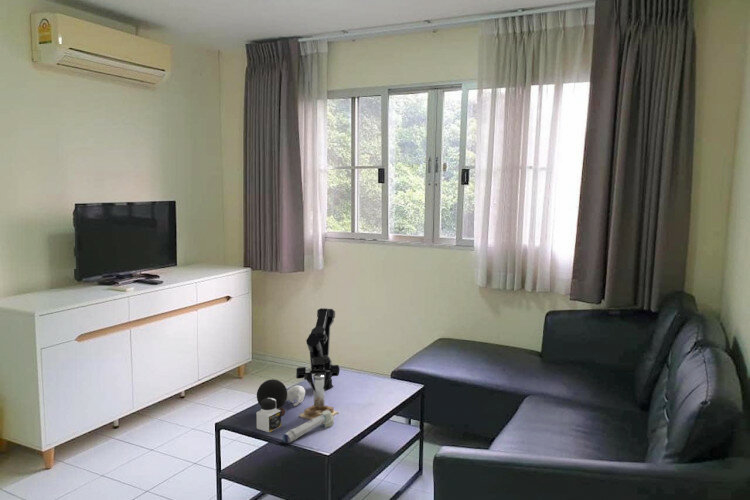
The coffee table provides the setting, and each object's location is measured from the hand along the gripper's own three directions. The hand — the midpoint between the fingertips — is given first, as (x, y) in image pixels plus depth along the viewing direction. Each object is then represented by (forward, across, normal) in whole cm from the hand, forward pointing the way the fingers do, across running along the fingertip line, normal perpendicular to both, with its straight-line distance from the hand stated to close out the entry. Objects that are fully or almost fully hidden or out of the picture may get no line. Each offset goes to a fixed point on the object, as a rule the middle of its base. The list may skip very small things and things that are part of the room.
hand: (319, 389), depth 233 cm
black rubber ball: (+4, -20, +13) cm, 24 cm away
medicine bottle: (+14, -22, +3) cm, 26 cm away
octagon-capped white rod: (+20, -6, -2) cm, 21 cm away
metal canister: (+4, 0, +6) cm, 7 cm away
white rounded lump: (-4, -11, +21) cm, 24 cm away
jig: (+8, 0, +9) cm, 12 cm away
